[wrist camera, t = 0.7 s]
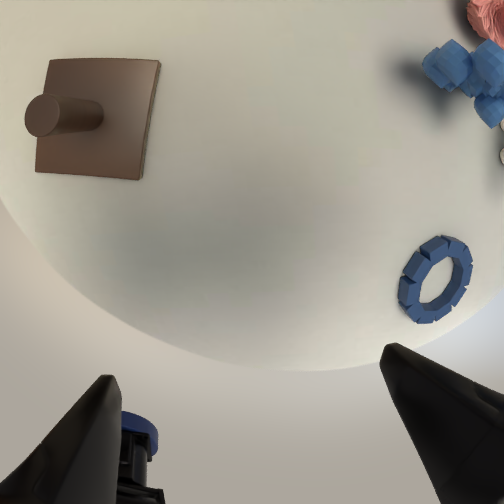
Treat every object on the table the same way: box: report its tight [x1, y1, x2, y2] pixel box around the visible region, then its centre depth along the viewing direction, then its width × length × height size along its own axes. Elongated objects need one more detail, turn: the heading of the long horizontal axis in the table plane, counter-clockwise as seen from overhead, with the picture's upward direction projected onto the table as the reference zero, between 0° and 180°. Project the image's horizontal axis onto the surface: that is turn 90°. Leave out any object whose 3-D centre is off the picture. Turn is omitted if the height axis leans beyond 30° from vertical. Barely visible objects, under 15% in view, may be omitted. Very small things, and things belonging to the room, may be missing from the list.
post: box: [25, 58, 161, 180], centre depth 14 cm, size 8×8×8 cm
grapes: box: [422, 38, 504, 129], centre depth 15 cm, size 12×7×12 cm, turn 96°
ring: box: [398, 235, 473, 324], centre depth 28 cm, size 9×10×2 cm
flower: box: [465, 0, 504, 50], centre depth 15 cm, size 8×8×6 cm
